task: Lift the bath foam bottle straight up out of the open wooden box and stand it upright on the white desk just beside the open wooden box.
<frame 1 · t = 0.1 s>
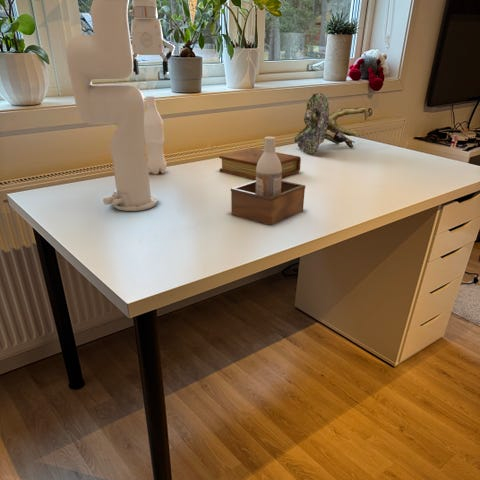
hand: (151, 74, 154), 31 cm above the table, tool pointing down, fingers open, 9 cm apart
bath foam: (267, 213, 127), resting in open wooden box
diary: (259, 172, 166), on the table
open wooden box: (267, 212, 127), on the table
tree stump: (323, 148, 200), on the table
water bottle: (157, 173, 165), on the table
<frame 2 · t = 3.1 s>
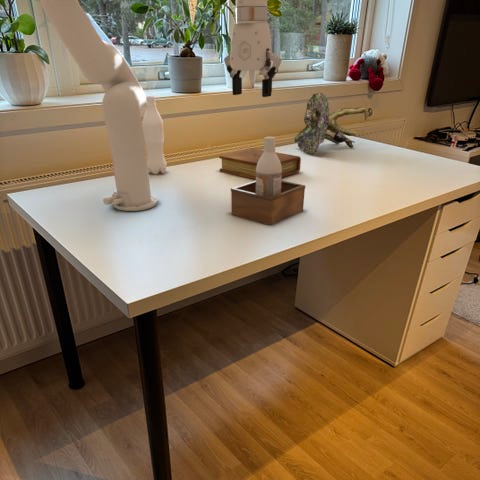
hand: (251, 95, 117), 29 cm above the table, tool pointing down, fingers open, 9 cm apart
nothing on the table moved.
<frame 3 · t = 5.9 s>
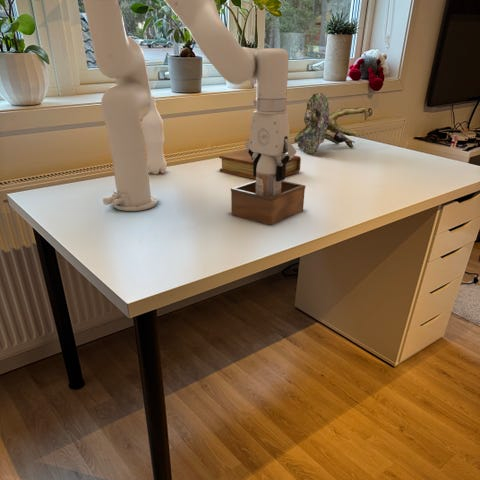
hand: (268, 177, 122), 10 cm above the table, tool pointing down, fingers closed on bath foam, 7 cm apart
bath foam: (267, 213, 127), resting in open wooden box, touching gripper
everything else where it was.
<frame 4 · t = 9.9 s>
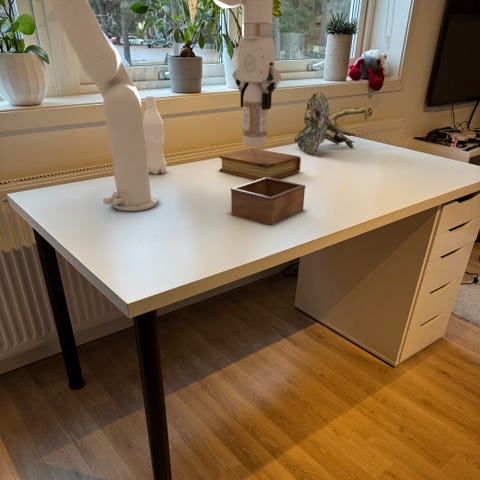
hand: (255, 107, 125), 25 cm above the table, tool pointing down, fingers closed on bath foam, 7 cm apart
bath foam: (254, 145, 130), point 15 cm above the table, touching gripper
everything else where it was.
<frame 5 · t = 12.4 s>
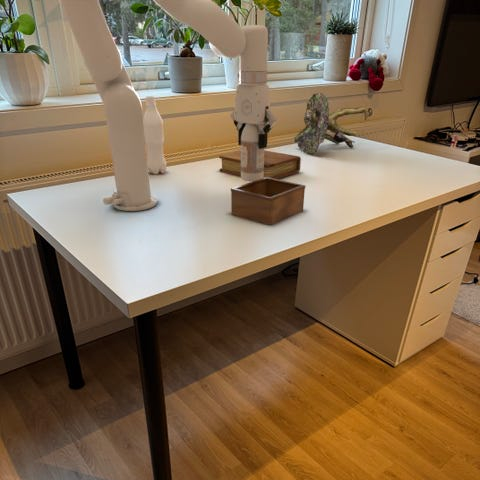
hand: (252, 145, 133), 15 cm above the table, tool pointing down, fingers closed on bath foam, 7 cm apart
bath foam: (252, 179, 139), point 5 cm above the table, touching gripper
everything else where it was.
when the fingers open (10 cm above the table, at t = 14.2 s): bath foam stays where it is, on the table.
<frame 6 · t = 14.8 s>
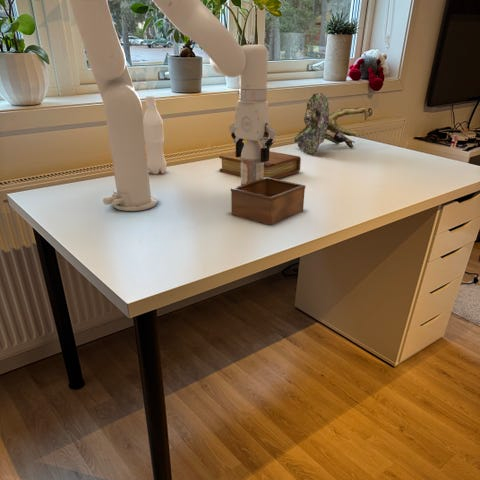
hand: (252, 159, 135), 11 cm above the table, tool pointing down, fingers open, 9 cm apart
bath foam: (251, 195, 141), on the table
everything else where it was.
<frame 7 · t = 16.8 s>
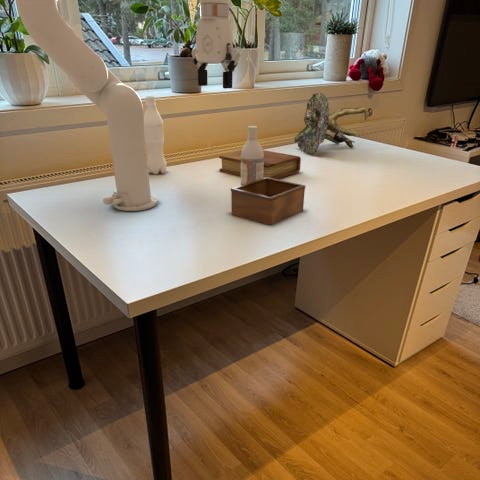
hand: (214, 86, 126), 30 cm above the table, tool pointing down, fingers open, 9 cm apart
nothing on the table moved.
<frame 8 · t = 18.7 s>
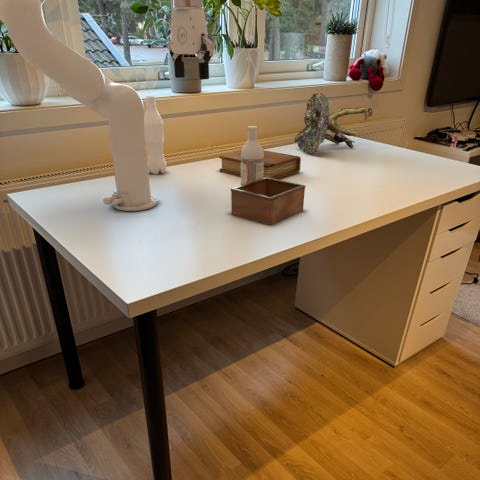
hand: (191, 78, 125), 32 cm above the table, tool pointing down, fingers open, 9 cm apart
nothing on the table moved.
at the end: bath foam inside the target area (0.1 cm from its centre), on the table; bath foam tilted 0°; bath foam touching table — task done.
